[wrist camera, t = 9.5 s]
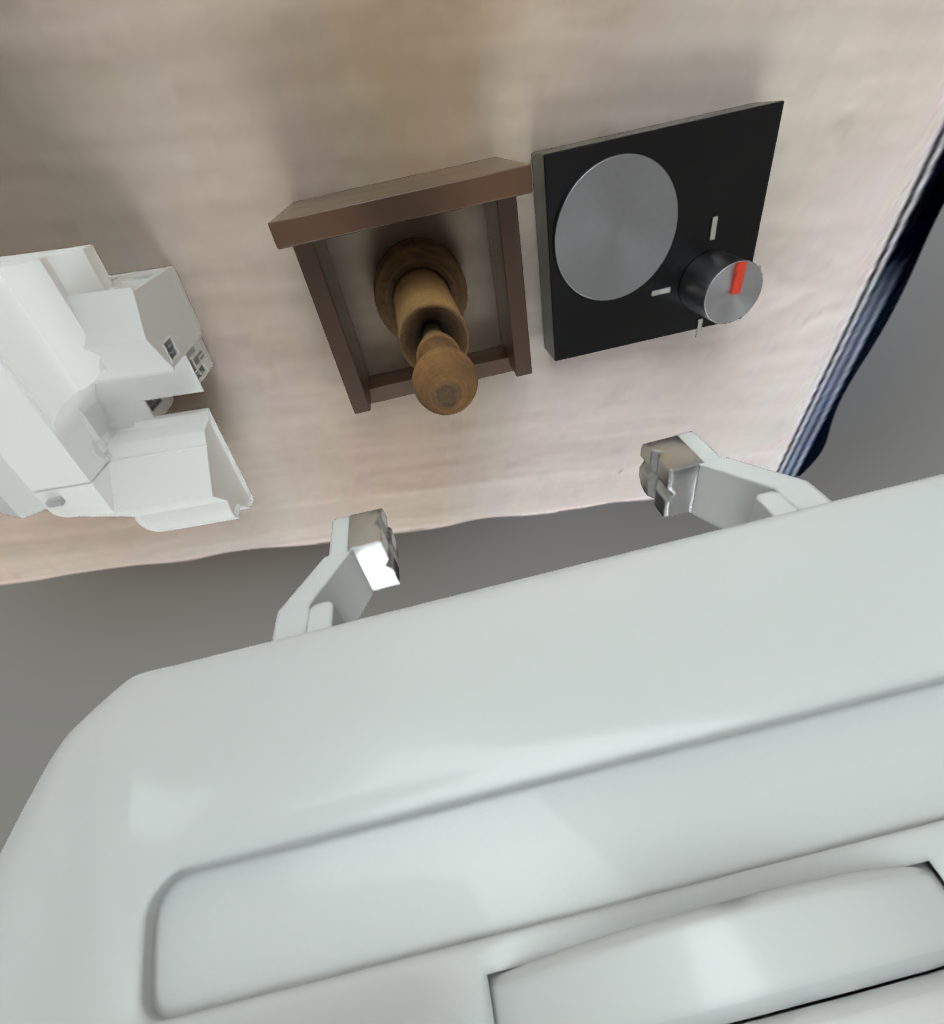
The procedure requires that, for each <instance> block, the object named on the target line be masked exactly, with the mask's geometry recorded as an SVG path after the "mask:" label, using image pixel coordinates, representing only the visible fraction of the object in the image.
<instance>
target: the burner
mask: <svg viewBox="0 0 944 1024" xmlns="http://www.w3.org/2000/svg"><path fill="white" fill-rule="evenodd" d="M677 220H678V203H677V197H676V192H675V189H674V186H673V183H672V181H671V179H670V177H669V175H668V174H667V172H666V171H665V170H664V169H663V168H662V167H661V166H660V165H659V164H658V163H657V162H655V161H654V160H652V159H651V158H648V157H646V156H644V155H639V154H630V153H624V154H617V155H613V156H610V157H607V158H605V159H603V160H601V161H599V162H597V163H596V164H594V165H593V166H591V167H590V168H589V169H587V170H586V171H585V172H584V173H583V174H582V175H581V176H580V177H579V178H578V179H577V180H576V181H575V183H574V184H573V185H572V187H571V188H570V190H569V191H568V193H567V195H566V196H565V198H564V200H563V202H562V204H561V207H560V209H559V212H558V215H557V218H556V223H555V227H554V235H553V249H554V256H555V261H556V265H557V267H558V270H559V272H560V274H561V276H562V278H563V279H564V280H565V282H566V283H567V284H568V285H569V286H570V287H571V288H572V289H573V290H574V291H575V292H577V293H578V294H580V295H582V296H584V297H586V298H589V299H593V300H612V299H617V298H620V297H623V296H625V295H627V294H630V293H631V292H633V291H635V290H636V289H638V288H639V287H640V286H642V285H643V284H644V283H645V282H646V281H648V280H649V279H650V278H651V277H652V275H653V274H654V273H655V272H656V271H657V269H658V268H659V267H660V265H661V264H662V262H663V261H664V259H665V257H666V255H667V253H668V251H669V249H670V247H671V244H672V241H673V239H674V235H675V231H676V226H677Z"/></svg>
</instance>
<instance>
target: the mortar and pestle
mask: <svg viewBox="0 0 944 1024" xmlns="http://www.w3.org/2000/svg"><path fill="white" fill-rule="evenodd" d="M374 292H375V302H376V306H377V310H378V313H379V315H380V317H381V319H382V321H383V322H384V324H385V325H386V327H387V328H388V329H389V330H390V331H391V332H392V333H393V334H394V335H396V336H397V337H399V345H400V349H401V352H402V354H403V356H404V358H405V360H406V361H407V362H408V363H409V364H410V365H411V366H412V367H413V368H414V371H413V376H412V384H413V389H414V392H415V395H416V397H417V399H418V400H419V402H420V403H421V404H422V405H423V406H424V407H425V408H426V409H428V410H429V411H431V412H433V413H436V414H440V415H451V414H455V413H458V412H460V411H462V410H463V409H465V408H466V407H467V406H468V405H469V404H470V403H471V401H472V400H473V398H474V396H475V394H476V391H477V387H478V376H477V371H476V368H475V366H474V364H473V362H472V361H471V359H470V358H469V357H468V356H467V352H468V349H469V332H468V329H467V326H466V324H465V322H464V320H463V318H462V316H463V314H464V311H465V308H466V303H467V286H466V281H465V278H464V275H463V272H462V270H461V268H460V267H459V265H458V263H457V261H456V260H455V258H454V257H453V256H452V254H451V253H450V252H449V251H448V250H447V249H445V248H444V247H443V246H442V245H440V244H438V243H436V242H434V241H432V240H428V239H422V238H415V239H409V240H405V241H403V242H400V243H398V244H397V245H395V246H394V247H392V248H391V249H390V250H389V251H388V252H387V253H386V254H385V255H384V257H383V258H382V260H381V261H380V263H379V266H378V268H377V271H376V275H375V282H374Z"/></svg>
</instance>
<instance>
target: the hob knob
mask: <svg viewBox="0 0 944 1024" xmlns="http://www.w3.org/2000/svg"><path fill="white" fill-rule="evenodd" d="M762 281H763V280H762V273H761V270H760V268H759V267H758V266H757V265H756V264H755V263H753V262H751V261H748V260H746V259H743V258H740V257H737V256H734V255H731V254H728V253H725V252H722V251H718V250H714V251H708V252H706V253H703V254H702V255H700V256H698V257H697V258H696V259H695V260H693V261H692V262H691V264H690V265H689V266H688V267H687V269H686V270H685V272H684V274H683V276H682V279H681V282H680V287H679V294H680V298H681V301H682V303H683V304H684V305H685V306H686V307H687V308H689V309H691V310H693V311H694V312H696V313H698V314H700V315H702V316H703V317H705V318H707V319H709V320H710V321H712V322H714V323H717V324H727V323H731V322H733V321H735V320H737V319H739V318H741V317H742V316H743V315H745V314H746V313H747V312H748V311H749V310H750V309H751V307H752V306H753V305H754V303H755V302H756V300H757V298H758V296H759V294H760V291H761V288H762Z"/></svg>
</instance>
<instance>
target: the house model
mask: <svg viewBox="0 0 944 1024" xmlns="http://www.w3.org/2000/svg"><path fill="white" fill-rule="evenodd" d="M202 333H203V330H202V328H201V325H200V323H199V321H198V319H197V317H196V314H195V312H194V310H193V308H192V306H191V303H190V301H189V299H188V297H187V295H186V293H185V290H184V288H183V286H182V284H181V282H180V279H179V277H178V275H177V273H176V271H175V268H174V266H171V267H164V268H156V269H149V270H142V271H135V272H128V273H120V274H113V275H108V273H107V271H106V269H105V267H104V266H103V264H102V262H101V260H100V258H99V256H98V255H97V253H96V251H95V249H94V247H93V245H86V246H78V247H71V248H63V249H56V250H49V251H41V252H34V253H26V254H19V255H12V256H3V257H0V513H2V514H6V515H10V516H13V517H17V518H21V519H22V518H25V517H27V516H30V515H32V514H35V513H37V512H40V511H42V510H45V509H48V510H49V511H50V512H51V513H52V514H54V515H57V516H60V517H67V518H69V517H75V516H91V517H97V516H113V517H116V516H130V517H134V518H135V520H136V521H137V522H138V523H139V524H140V525H141V526H142V527H144V528H145V529H148V530H150V531H155V532H163V531H170V530H176V529H182V528H187V527H193V526H199V525H205V524H211V523H216V522H222V521H228V520H234V519H240V510H244V509H250V508H252V504H253V501H254V498H253V496H252V494H251V492H250V490H249V488H248V486H247V484H246V482H245V480H244V478H243V476H242V474H241V472H240V470H239V468H238V466H237V464H236V462H235V460H234V458H233V456H232V454H231V452H230V450H229V448H228V446H227V444H226V442H225V440H224V438H223V436H222V434H221V432H220V430H219V428H218V426H217V424H216V422H215V420H214V418H213V416H212V414H211V412H210V410H209V408H204V409H198V410H191V411H185V412H179V413H172V414H166V415H165V413H166V412H167V411H168V409H169V408H170V407H171V405H172V402H173V401H174V399H173V397H172V396H178V395H184V394H191V393H197V392H204V390H203V388H202V386H201V382H202V381H203V379H204V378H205V377H206V375H207V374H208V372H209V371H210V369H211V368H213V367H212V366H213V365H214V364H213V362H212V360H211V357H210V355H209V353H208V351H207V349H206V347H205V344H204V342H203V340H202V338H201V336H202ZM198 374H200V375H201V374H202V375H201V377H200V378H199V379H198V378H197V376H196V375H198Z"/></svg>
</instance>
